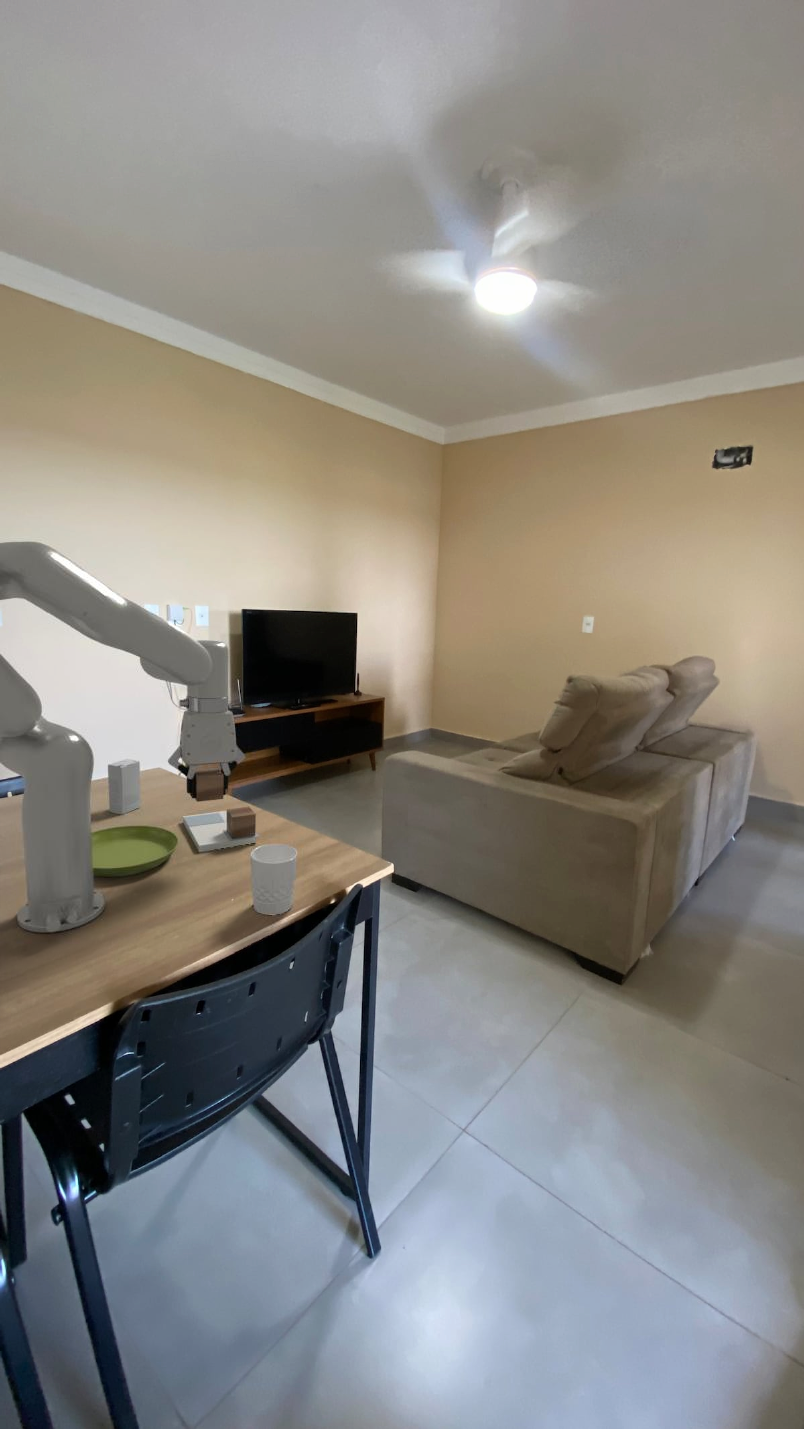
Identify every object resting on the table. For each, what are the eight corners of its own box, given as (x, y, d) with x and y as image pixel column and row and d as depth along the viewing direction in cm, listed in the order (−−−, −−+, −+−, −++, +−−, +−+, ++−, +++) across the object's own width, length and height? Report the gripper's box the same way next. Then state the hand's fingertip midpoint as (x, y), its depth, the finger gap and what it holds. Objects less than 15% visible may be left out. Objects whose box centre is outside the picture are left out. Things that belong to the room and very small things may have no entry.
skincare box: (127, 804, 147) (126, 757, 145) (142, 807, 146) (140, 760, 144) (108, 812, 142) (106, 763, 139) (122, 815, 140) (120, 766, 138)
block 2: (255, 835, 129) (255, 814, 128) (232, 839, 127) (232, 817, 126) (248, 827, 134) (249, 806, 133) (226, 830, 131) (226, 809, 130)
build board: (259, 843, 129) (259, 836, 129) (199, 852, 123) (199, 845, 123) (237, 815, 145) (237, 808, 144) (182, 822, 138) (182, 815, 138)
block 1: (223, 798, 117) (223, 774, 116) (197, 801, 114) (197, 776, 113) (217, 791, 121) (217, 767, 120) (191, 793, 118) (191, 769, 118)
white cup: (247, 898, 106) (248, 846, 104) (291, 892, 109) (292, 842, 107) (252, 920, 99) (253, 865, 97) (299, 914, 102) (301, 860, 100)
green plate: (60, 891, 105) (59, 874, 104) (68, 846, 123) (67, 831, 123) (184, 873, 114) (183, 858, 113) (174, 834, 132) (174, 820, 132)
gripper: (164, 710, 107) (165, 805, 110) (257, 707, 115) (255, 796, 119) (157, 702, 113) (158, 793, 116) (246, 700, 122) (244, 785, 125)
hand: (207, 793), depth 118 cm, fingers closed on block 1, 5 cm apart
